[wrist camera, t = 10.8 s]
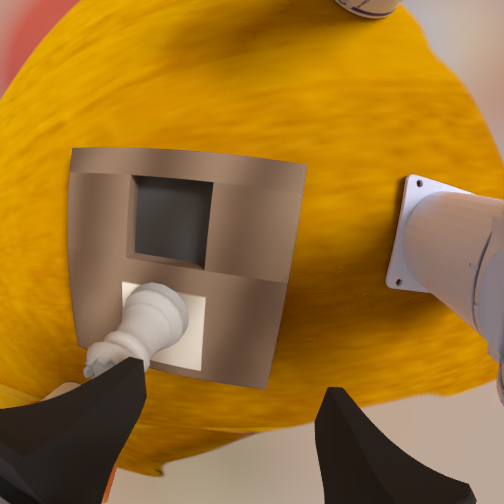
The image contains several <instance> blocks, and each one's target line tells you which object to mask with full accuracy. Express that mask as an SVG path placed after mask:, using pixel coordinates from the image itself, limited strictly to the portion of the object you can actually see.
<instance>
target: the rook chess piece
mask: <svg viewBox="0 0 504 504" xmlns="http://www.w3.org/2000/svg"><path fill="white" fill-rule="evenodd" d="M188 321H189V314H188V311H187V308H186V305H185V302H184V301H183V300H182V299H181V298H180V296H179V295H178V294H177V293H176V292H175V291H173V290H172V289H170V288H168V287H167V286H165V285H162V284H157V283H152V282H151V283H147V284H142V285H140V286H139V287H137V288H136V289H135V290H134V291H132V293H131V295H130V296H128V297H127V300H126V302H125V304H124V307H123V310H122V322H121V324H120V325H119V327H118V329H117V330H116V331H115V332H110V333H109V334H108V335H107V336H105V339H104V342H96V343H94V344H92V345H91V346H90V347H89V348H88V350H87V354H86V360H87V361H86V362H85V363H84V364H86V365H87V366H86V367H85V368H84V369H83V373H84V377H85V378H90V377H92V379H94V378H95V377H97V376H99V375H100V374H102V373H104V372H105V371H107V370H108V369H110V368H112V367H113V366H115V365H116V364H118V363H119V362H121V361H123V360H124V359H126V358H128V357H129V356H130V357H134V358H138V359H142V360H143V361H144V373H145V372H146V371H147V370H148V368H149V366H150V358H151V357H152V356H153V355H154V354H155V353H156V352H157V351H161V350H163V349H167V348H169V347H171V346H172V345H174V344H175V343H177V342H178V341H179V340H180V338H181V336H183V334H184V333H185V331H186V329H187V327H188Z"/></svg>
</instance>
